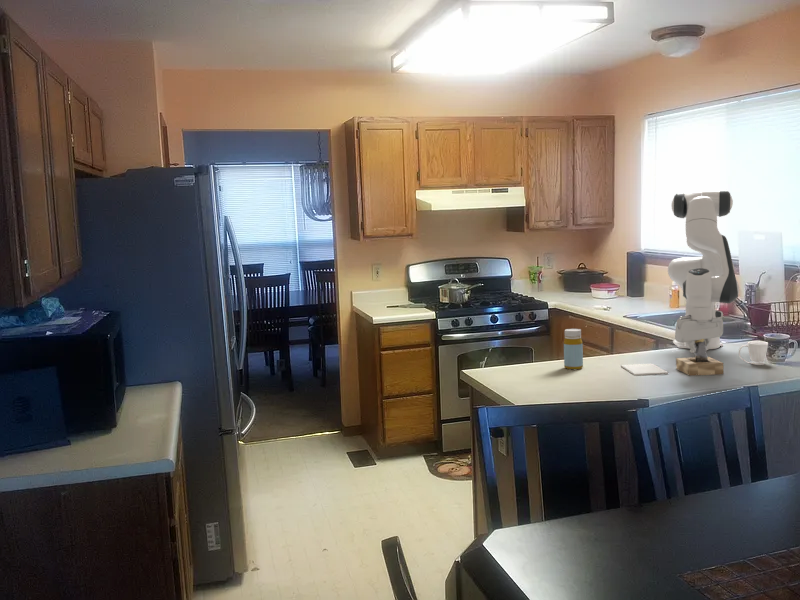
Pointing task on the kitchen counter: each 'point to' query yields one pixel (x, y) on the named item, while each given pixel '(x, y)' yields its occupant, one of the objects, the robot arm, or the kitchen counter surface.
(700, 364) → the block
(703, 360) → the peg
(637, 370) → the mat
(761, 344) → the cup
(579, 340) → the bottle
